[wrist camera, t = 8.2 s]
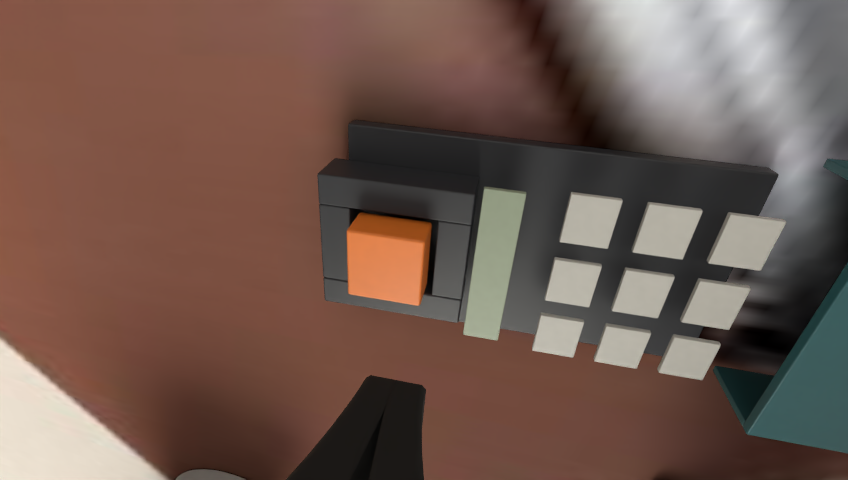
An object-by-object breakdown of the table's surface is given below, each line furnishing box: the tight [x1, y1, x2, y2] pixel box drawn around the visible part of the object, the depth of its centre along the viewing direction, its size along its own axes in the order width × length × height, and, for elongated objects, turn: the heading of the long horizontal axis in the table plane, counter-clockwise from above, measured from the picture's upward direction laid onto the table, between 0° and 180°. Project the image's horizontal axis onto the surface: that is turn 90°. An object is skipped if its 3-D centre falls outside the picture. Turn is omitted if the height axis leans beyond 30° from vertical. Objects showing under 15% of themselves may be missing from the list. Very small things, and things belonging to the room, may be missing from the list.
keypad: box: [463, 187, 786, 380], centre depth 16 cm, size 7×9×1 cm
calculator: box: [318, 120, 778, 356], centre depth 17 cm, size 16×8×2 cm, turn 86°
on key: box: [347, 213, 432, 306], centre depth 16 cm, size 3×3×2 cm
